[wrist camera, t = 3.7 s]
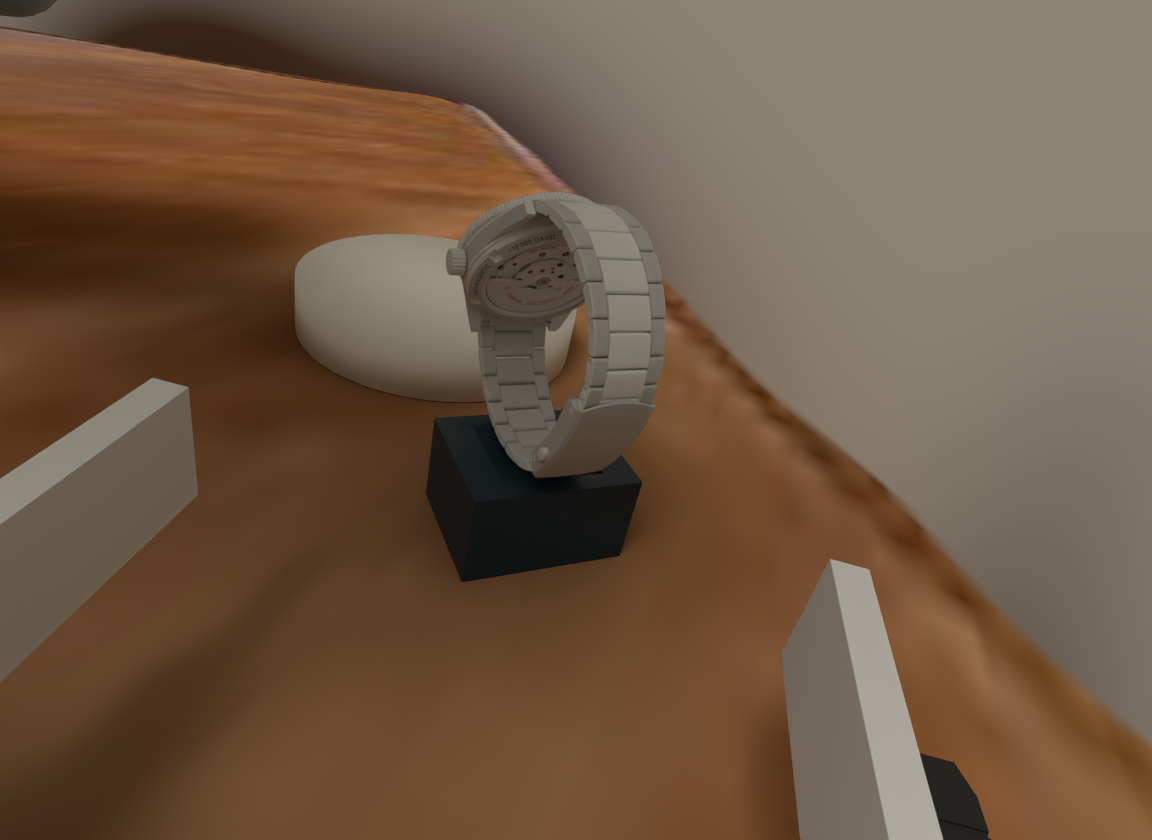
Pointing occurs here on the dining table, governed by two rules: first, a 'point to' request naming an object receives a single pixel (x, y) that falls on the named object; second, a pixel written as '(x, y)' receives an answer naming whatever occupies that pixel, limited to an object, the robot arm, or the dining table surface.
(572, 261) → the watch
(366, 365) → the display plinth
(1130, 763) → the dining table surface
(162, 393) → the robot arm
